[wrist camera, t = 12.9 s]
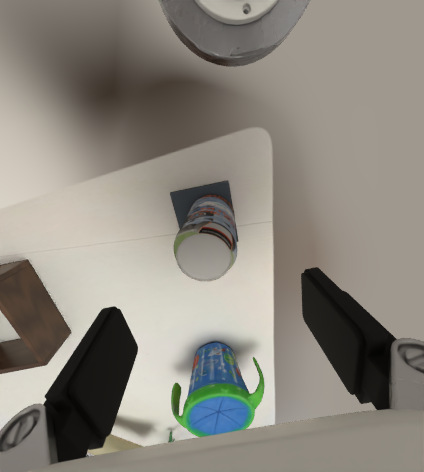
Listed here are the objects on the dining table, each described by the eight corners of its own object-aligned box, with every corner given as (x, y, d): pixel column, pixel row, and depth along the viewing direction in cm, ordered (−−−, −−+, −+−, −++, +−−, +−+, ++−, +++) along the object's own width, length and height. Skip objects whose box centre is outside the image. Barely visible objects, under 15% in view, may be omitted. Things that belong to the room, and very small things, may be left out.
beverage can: (241, 210, 28) (267, 243, 17) (209, 248, 30) (213, 301, 19) (206, 182, 26) (209, 198, 15) (174, 224, 28) (156, 266, 17)
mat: (170, 192, 27) (170, 192, 27) (227, 180, 27) (228, 180, 27) (186, 251, 30) (186, 252, 30) (237, 240, 30) (238, 241, 30)
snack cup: (248, 324, 36) (265, 383, 26) (259, 364, 40) (277, 428, 30) (166, 345, 37) (154, 409, 27) (184, 381, 40) (178, 449, 31)
